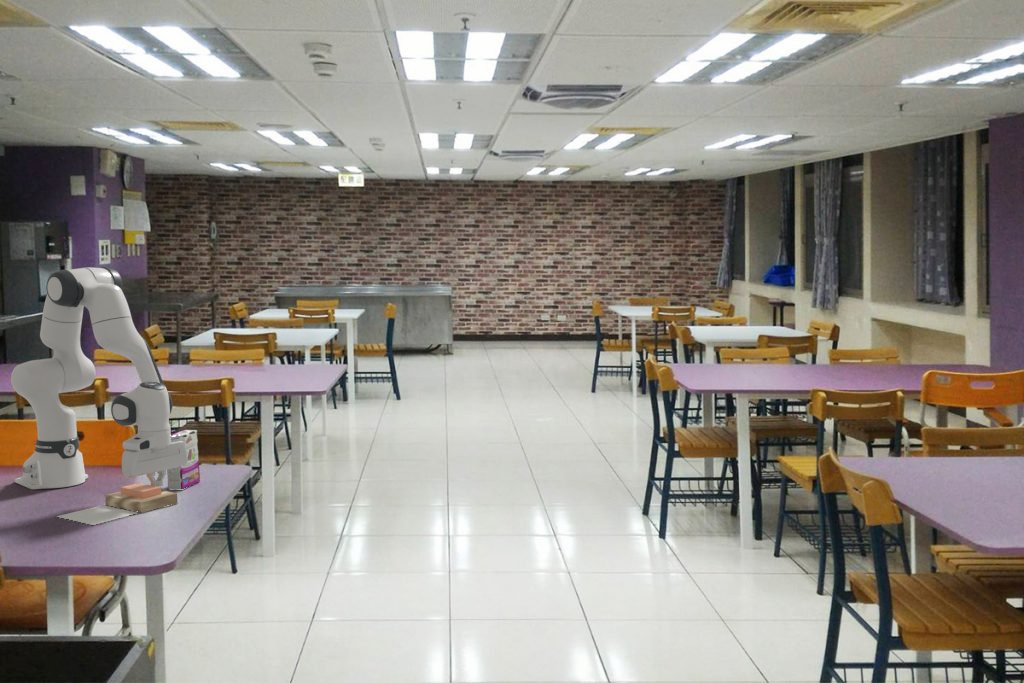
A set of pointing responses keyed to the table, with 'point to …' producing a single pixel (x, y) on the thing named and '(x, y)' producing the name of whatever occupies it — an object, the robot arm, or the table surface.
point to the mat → (97, 515)
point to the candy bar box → (190, 471)
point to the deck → (140, 501)
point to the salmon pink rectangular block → (141, 490)
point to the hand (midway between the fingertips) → (156, 486)
